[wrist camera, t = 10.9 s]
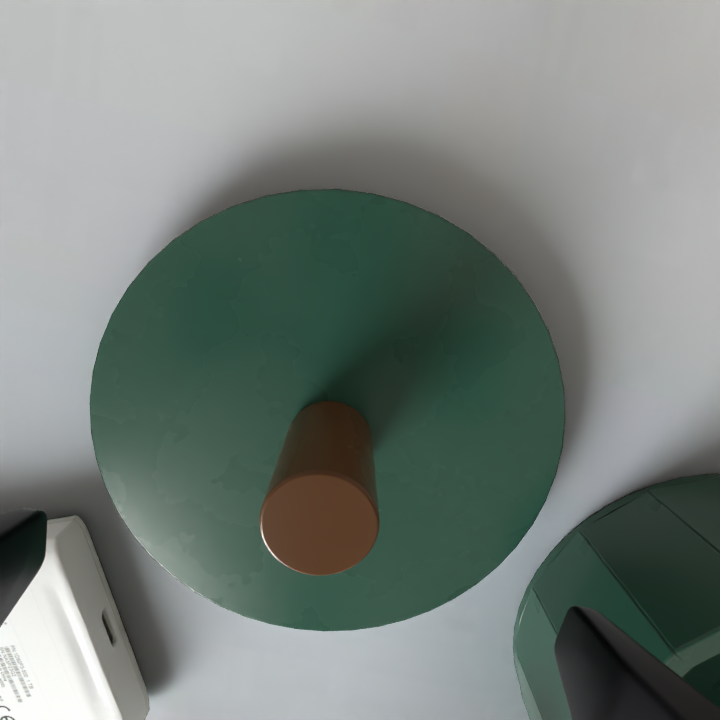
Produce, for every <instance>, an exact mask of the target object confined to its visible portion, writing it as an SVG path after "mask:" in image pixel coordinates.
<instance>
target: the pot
mask: <svg viewBox="0 0 720 720" xmlns="http://www.w3.org/2000/svg"><path fill="white" fill-rule="evenodd" d="M571 606H582V607H587V608H592V609H595V610H597V611H599V612H600V613H601V614H602V615H604V616H605V617H606V618H607V619H609V620H610V621H611V622H613V623H614V624H615V625H616V626H618V627H619V628H620V629H621V630H623V631H624V632H625V633H626V634H628V635H629V636H630V637H631V638H633V639H634V640H635V641H636V642H638V643H639V644H640V645H641V646H643V647H644V648H645V649H646V650H648V651H649V652H650V653H651V654H653V655H654V656H655V657H656V658H658V659H659V660H660V661H661V662H663V663H664V664H665V665H666V666H668V667H669V668H670V669H671V670H673V671H674V672H675V673H676V674H678V675H679V676H680V677H681V678H683V679H684V680H685V681H686V682H688V683H689V684H690V685H691V686H693V687H694V688H695V689H696V690H698V691H699V692H700V693H701V694H703V695H704V696H705V697H706V698H708V699H709V700H710V701H712V702H713V703H714V704H715V705H717V706H718V707H719V708H720V474H705V475H698V476H691V477H684V478H679V479H675V480H671V481H667V482H663V483H659V484H655V485H653V486H650V487H647V488H645V489H642V490H640V491H637V492H634V493H632V494H629V495H627V496H625V497H624V498H622V499H620V500H618V501H616V502H614V503H612V504H610V505H608V506H606V507H605V508H603V509H602V510H600V511H599V512H597V513H595V514H594V515H592V516H591V517H589V518H588V519H586V520H585V521H584V522H583V523H581V524H580V525H579V526H578V527H577V528H575V529H574V530H573V531H572V532H570V533H569V534H568V535H567V536H566V537H565V538H564V539H563V540H562V541H561V542H560V543H559V544H558V545H557V546H556V547H555V548H554V549H553V551H552V552H551V553H550V554H549V555H548V557H547V558H546V559H545V561H544V562H543V563H542V565H541V566H540V567H539V569H538V570H537V572H536V573H535V575H534V577H533V579H532V580H531V582H530V584H529V586H528V587H527V589H526V592H525V594H524V597H523V599H522V602H521V604H520V607H519V610H518V615H517V619H516V623H515V628H514V641H513V651H514V662H515V667H516V671H517V675H518V679H519V682H520V688H521V694H522V698H523V701H524V704H525V706H526V709H527V712H528V714H529V717H530V720H572V719H571V715H570V712H569V708H568V704H567V700H566V697H565V693H564V689H563V686H562V682H561V678H560V674H559V671H558V667H557V663H556V659H555V654H554V645H555V640H556V637H557V635H558V632H559V630H560V627H561V625H562V623H563V620H564V618H565V615H566V613H567V611H568V609H569V608H570V607H571Z"/></svg>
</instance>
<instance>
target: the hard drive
mask: <svg viewBox="0 0 720 720" xmlns="http://www.w3.org/2000/svg"><path fill="white" fill-rule="evenodd" d="M149 710H150V709H149V698H148V693H147V689H146V687H145V684H144V681H143V678H142V676H141V673H140V670H139V667H138V665H137V662H136V659H135V656H134V653H133V650H132V648H131V645H130V643H129V640H128V637H127V635H126V632H125V629H124V626H123V624H122V621H121V619H120V616H119V612H118V610H117V607H116V604H115V602H114V599H113V597H112V594H111V591H110V588H109V586H108V583H107V580H106V578H105V575H104V572H103V570H102V567H101V564H100V561H99V559H98V556H97V553H96V551H95V548H94V545H93V542H92V540H91V537H90V534H89V532H88V529H87V527H86V525H85V524H84V522H83V521H82V520H81V519H80V518H79V517H78V516H70V517H63V518H57V519H50V520H47V540H46V555H45V559H44V562H43V564H42V566H41V568H40V570H39V572H38V573H37V574H36V576H35V577H34V579H33V580H32V582H31V583H30V585H29V586H28V588H27V589H26V591H25V592H24V593H23V595H22V596H21V598H20V599H19V601H18V602H17V604H16V605H15V607H14V608H13V610H12V611H11V613H10V614H9V615H8V617H7V618H6V620H5V621H4V623H3V624H2V626H1V627H0V720H145V718H146V716H147V714H148V712H149Z"/></svg>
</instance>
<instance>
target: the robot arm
mask: <svg viewBox="0 0 720 720" xmlns="http://www.w3.org/2000/svg"><path fill="white" fill-rule="evenodd" d="M46 540H47V515H46V514H45V513H44V512H43V511H40V510H34V509H29V508H22V507H18V508H14V509H11V510H8V511H5V512H2V513H0V627H1V626H2V624H3V623H4V621H5V620H6V618H7V617H8V615H9V614H10V613H11V611H12V610H13V608H14V607H15V605H16V604H17V602H18V601H19V599H20V598H21V596H22V595H23V593H24V592H25V591H26V589H27V588H28V586H29V585H30V583H31V582H32V580H33V579H34V577H35V576H36V574H37V573H38V572H39V570H40V568H41V566H42V564H43V562H44V559H45V555H46ZM554 654H555V659H556V663H557V667H558V671H559V674H560V678H561V682H562V686H563V689H564V693H565V697H566V700H567V704H568V708H569V712H570V715H571V719H572V720H720V708H719V707H718V706H717V705H715V704H714V703H713V702H712V701H710V700H709V699H708V698H706V697H705V696H704V695H703V694H701V693H700V692H699V691H698V690H696V689H695V688H694V687H693V686H691V685H690V684H689V683H688V682H686V681H685V680H684V679H683V678H681V677H680V676H679V675H678V674H676V673H675V672H674V671H673V670H671V669H670V668H669V667H668V666H666V665H665V664H664V663H663V662H661V661H660V660H659V659H658V658H656V657H655V656H654V655H653V654H651V653H650V652H649V651H648V650H646V649H645V648H644V647H643V646H641V645H640V644H639V643H638V642H636V641H635V640H634V639H633V638H631V637H630V636H629V635H628V634H626V633H625V632H624V631H623V630H621V629H620V628H619V627H618V626H616V625H615V624H614V623H613V622H611V621H610V620H609V619H607V618H606V617H605V616H604V615H602V614H601V613H600V612H599V611H597V610H595V609H592V608H587V607H582V606H571V607H570V608H569V609H568V611H567V613H566V615H565V618H564V620H563V623H562V625H561V627H560V630H559V632H558V635H557V637H556V640H555V645H554Z"/></svg>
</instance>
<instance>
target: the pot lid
mask: <svg viewBox="0 0 720 720" xmlns="http://www.w3.org/2000/svg"><path fill="white" fill-rule="evenodd" d="M90 418H91V434H92V439H93V444H94V450H95V455H96V460H97V463H98V466H99V469H100V472H101V475H102V478H103V481H104V484H105V487H106V489H107V491H108V493H109V495H110V497H111V499H112V501H113V503H114V505H115V507H116V509H117V511H118V513H119V515H120V516H121V518H122V519H123V521H124V522H125V524H126V525H127V527H128V528H129V530H130V531H131V533H132V534H133V536H134V537H135V538H136V539H137V541H138V542H139V543H140V544H141V545H142V546H143V548H144V549H145V550H146V551H147V552H148V553H149V554H150V556H151V557H152V558H153V559H154V560H155V561H157V562H158V563H159V564H160V565H161V566H162V567H163V568H164V569H165V570H166V571H167V572H169V573H170V574H171V575H172V576H173V577H175V578H176V579H177V580H179V581H180V582H181V583H183V584H184V585H186V586H187V587H188V588H190V589H191V590H193V591H194V592H196V593H197V594H199V595H201V596H203V597H204V598H206V599H208V600H210V601H212V602H213V603H215V604H217V605H219V606H221V607H223V608H226V609H228V610H231V611H233V612H235V613H238V614H240V615H242V616H245V617H248V618H252V619H255V620H258V621H262V622H265V623H269V624H273V625H278V626H284V627H289V628H294V629H303V630H316V631H345V630H357V629H365V628H372V627H379V626H383V625H387V624H391V623H395V622H399V621H403V620H406V619H409V618H412V617H414V616H417V615H420V614H423V613H425V612H428V611H431V610H433V609H435V608H437V607H438V606H440V605H442V604H444V603H446V602H448V601H450V600H452V599H454V598H456V597H457V596H459V595H461V594H462V593H464V592H465V591H467V590H468V589H470V588H471V587H473V586H474V585H476V584H477V583H478V582H480V581H481V580H482V579H483V578H484V577H486V576H487V575H488V574H489V573H490V572H492V571H493V570H494V569H495V568H496V567H498V566H499V565H500V563H501V562H502V561H503V560H504V559H505V558H506V557H507V556H508V555H509V554H510V553H511V552H512V551H513V550H514V549H515V548H516V546H517V545H518V544H519V542H520V541H521V540H522V538H523V537H524V535H525V534H526V533H527V531H528V530H529V529H530V527H531V526H532V525H533V523H534V521H535V519H536V517H537V515H538V514H539V512H540V510H541V508H542V506H543V505H544V503H545V501H546V499H547V496H548V493H549V491H550V488H551V486H552V483H553V481H554V478H555V475H556V472H557V468H558V464H559V459H560V455H561V451H562V446H563V436H564V426H565V401H564V387H563V381H562V376H561V371H560V365H559V360H558V357H557V354H556V351H555V348H554V345H553V342H552V339H551V336H550V333H549V331H548V329H547V327H546V325H545V323H544V321H543V319H542V317H541V315H540V313H539V311H538V309H537V307H536V305H535V303H534V302H533V300H532V299H531V298H530V296H529V295H528V293H527V292H526V291H525V289H524V288H523V286H522V285H521V283H520V282H519V281H518V279H517V278H516V277H515V276H514V274H513V273H512V272H511V271H510V270H509V269H508V268H507V267H506V266H505V265H504V264H503V263H502V262H501V261H500V260H499V259H498V258H497V256H496V255H495V254H494V253H492V252H491V251H490V250H489V249H487V248H486V247H485V246H484V245H482V244H481V243H480V242H479V241H477V240H476V239H475V238H474V237H472V236H471V235H470V234H469V233H467V232H466V231H464V230H462V229H460V228H459V227H457V226H455V225H454V224H452V223H450V222H449V221H447V220H445V219H443V218H442V217H440V216H438V215H436V214H434V213H431V212H429V211H426V210H424V209H422V208H419V207H417V206H414V205H412V204H410V203H407V202H404V201H400V200H396V199H393V198H389V197H385V196H381V195H377V194H373V193H366V192H358V191H349V190H341V189H316V190H297V191H291V192H285V193H279V194H273V195H267V196H263V197H260V198H257V199H254V200H251V201H247V202H244V203H241V204H238V205H235V206H232V207H230V208H228V209H226V210H223V211H221V212H219V213H217V214H215V215H213V216H211V217H209V218H207V219H205V220H203V221H201V222H199V223H198V224H196V225H195V226H193V227H192V228H190V229H189V230H187V231H186V232H184V233H183V234H181V235H180V236H178V237H177V238H175V239H174V240H173V241H172V242H170V243H169V244H168V245H167V246H166V247H165V248H164V249H163V250H162V251H161V252H159V253H158V254H157V255H156V256H155V257H154V258H153V259H152V260H151V261H149V263H148V264H147V265H146V266H145V267H144V269H143V270H142V271H141V272H140V273H139V275H138V276H137V277H136V278H135V280H134V281H133V282H132V283H131V284H130V286H129V287H128V288H127V290H126V292H125V293H124V295H123V297H122V298H121V300H120V302H119V303H118V305H117V307H116V308H115V310H114V312H113V313H112V316H111V318H110V320H109V323H108V325H107V328H106V330H105V332H104V335H103V337H102V340H101V342H100V345H99V349H98V353H97V358H96V362H95V366H94V370H93V375H92V385H91V395H90Z"/></svg>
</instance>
